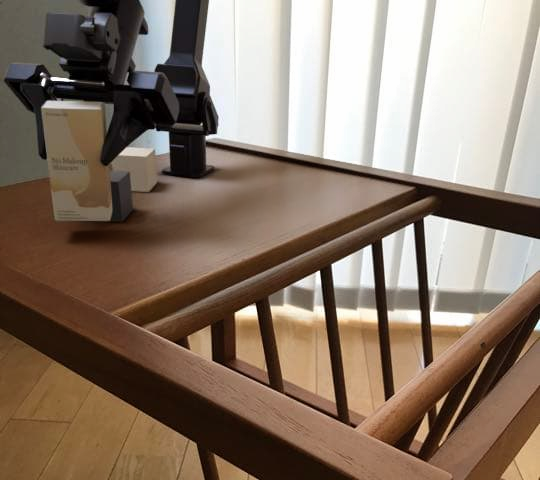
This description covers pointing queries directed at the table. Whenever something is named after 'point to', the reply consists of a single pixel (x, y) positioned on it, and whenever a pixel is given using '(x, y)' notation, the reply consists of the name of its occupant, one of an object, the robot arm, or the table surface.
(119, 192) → the slate block
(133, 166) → the ivory block
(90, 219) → the cosmetic box
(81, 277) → the table surface
